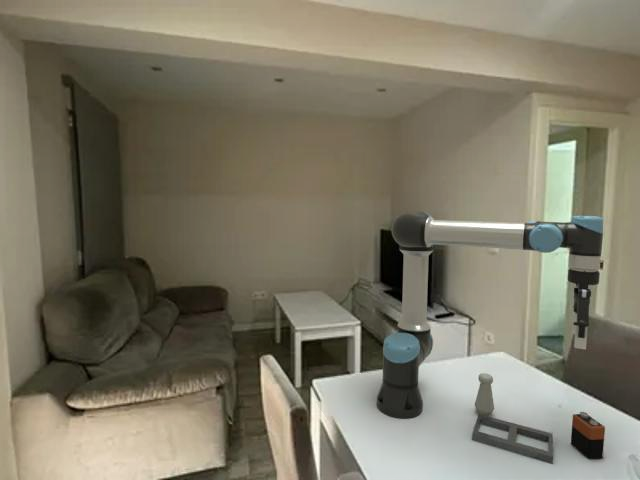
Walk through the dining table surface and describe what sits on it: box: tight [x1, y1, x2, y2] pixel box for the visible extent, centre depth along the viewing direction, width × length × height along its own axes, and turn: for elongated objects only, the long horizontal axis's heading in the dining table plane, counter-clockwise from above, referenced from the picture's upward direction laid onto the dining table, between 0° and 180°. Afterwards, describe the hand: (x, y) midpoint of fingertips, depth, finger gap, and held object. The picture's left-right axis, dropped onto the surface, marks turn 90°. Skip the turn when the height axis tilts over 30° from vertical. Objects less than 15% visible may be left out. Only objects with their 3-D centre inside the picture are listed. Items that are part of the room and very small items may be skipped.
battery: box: [570, 411, 606, 460], centre depth 106 cm, size 4×7×10 cm, turn 5°
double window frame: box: [471, 413, 554, 465], centre depth 111 cm, size 20×12×2 cm, turn 60°
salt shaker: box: [474, 372, 495, 417], centre depth 124 cm, size 6×6×13 cm
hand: (578, 341), depth 113 cm, fingers open, 13 cm apart
